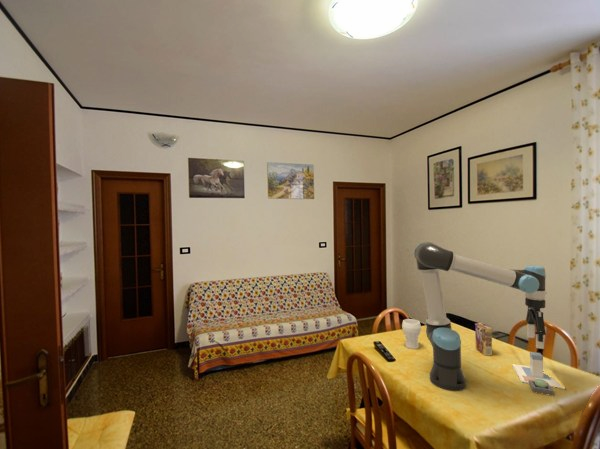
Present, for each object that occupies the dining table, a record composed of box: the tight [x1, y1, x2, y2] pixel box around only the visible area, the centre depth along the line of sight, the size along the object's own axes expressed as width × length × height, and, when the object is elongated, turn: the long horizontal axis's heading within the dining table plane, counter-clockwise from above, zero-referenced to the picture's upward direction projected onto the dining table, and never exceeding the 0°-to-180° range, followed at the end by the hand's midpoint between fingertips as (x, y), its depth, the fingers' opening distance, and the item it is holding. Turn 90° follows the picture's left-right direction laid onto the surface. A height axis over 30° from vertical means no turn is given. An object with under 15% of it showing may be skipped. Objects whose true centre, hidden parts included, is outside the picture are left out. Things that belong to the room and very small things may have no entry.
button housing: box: [528, 380, 555, 396], centre depth 129 cm, size 7×7×2 cm
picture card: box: [512, 363, 563, 389], centre depth 140 cm, size 16×18×1 cm
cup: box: [401, 318, 422, 350], centre depth 177 cm, size 11×11×15 cm
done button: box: [535, 379, 547, 389], centre depth 129 cm, size 4×4×3 cm
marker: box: [529, 351, 544, 378], centre depth 140 cm, size 4×4×10 cm
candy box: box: [474, 322, 493, 356], centre depth 167 cm, size 9×4×15 cm, turn 2°
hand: (535, 342), depth 140 cm, fingers open, 13 cm apart
